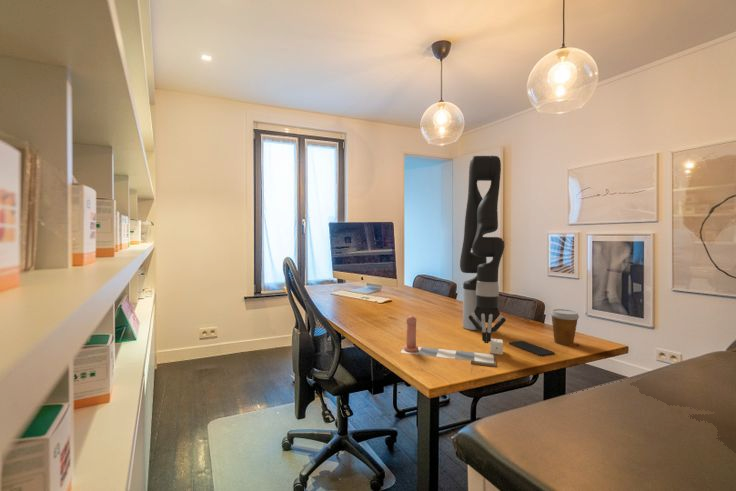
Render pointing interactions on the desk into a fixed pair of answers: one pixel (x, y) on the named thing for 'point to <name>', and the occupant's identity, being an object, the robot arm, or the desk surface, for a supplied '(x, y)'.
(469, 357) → the board
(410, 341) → the pawn
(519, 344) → the phone
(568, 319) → the disposable coffee cup
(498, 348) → the die
